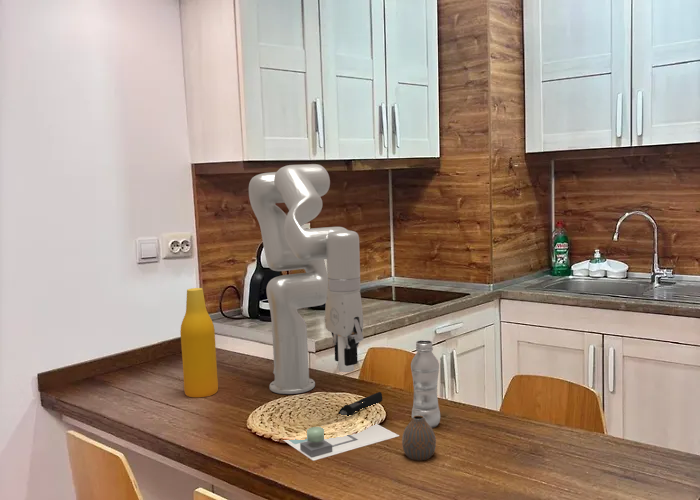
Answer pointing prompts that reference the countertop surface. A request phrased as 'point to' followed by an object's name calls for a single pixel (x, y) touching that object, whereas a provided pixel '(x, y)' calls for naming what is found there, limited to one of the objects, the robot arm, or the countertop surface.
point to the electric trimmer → (361, 404)
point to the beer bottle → (198, 347)
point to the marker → (341, 355)
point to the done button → (315, 434)
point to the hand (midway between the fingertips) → (346, 361)
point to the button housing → (316, 448)
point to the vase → (418, 439)
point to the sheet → (350, 441)
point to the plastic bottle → (425, 383)
